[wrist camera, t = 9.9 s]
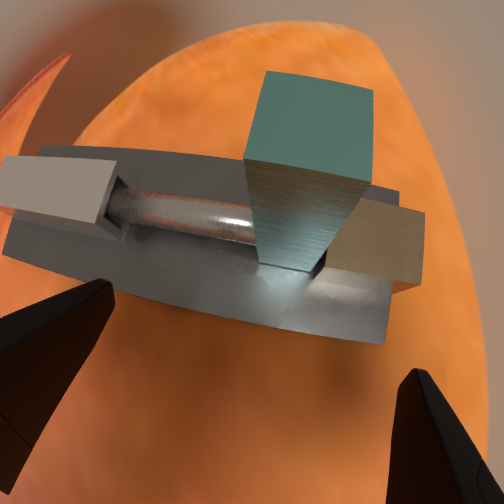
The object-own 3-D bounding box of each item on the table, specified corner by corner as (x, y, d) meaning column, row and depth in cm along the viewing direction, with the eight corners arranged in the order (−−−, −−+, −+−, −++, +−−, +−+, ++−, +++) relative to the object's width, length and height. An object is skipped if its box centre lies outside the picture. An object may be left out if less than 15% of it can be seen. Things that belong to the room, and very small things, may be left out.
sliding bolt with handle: (97, 230, 20) (-26, 146, 8) (110, 189, 20) (7, 85, 9) (375, 283, 18) (501, 219, 6) (380, 235, 18) (488, 130, 7)
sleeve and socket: (9, 256, 21) (-32, 241, 16) (46, 150, 23) (15, 121, 18) (378, 344, 18) (412, 348, 13) (394, 197, 20) (424, 162, 15)
